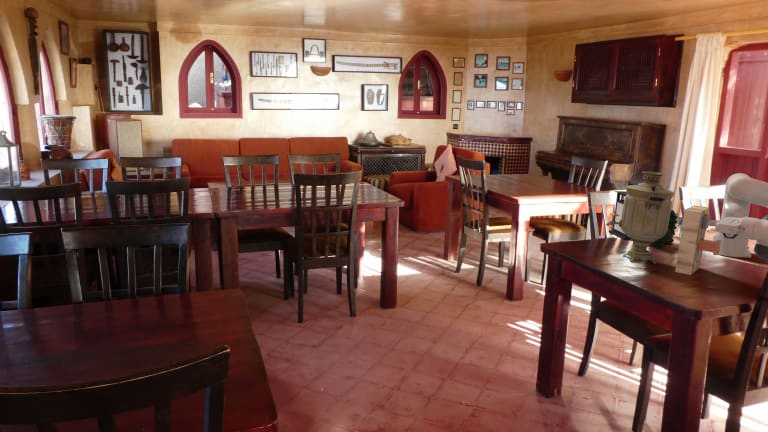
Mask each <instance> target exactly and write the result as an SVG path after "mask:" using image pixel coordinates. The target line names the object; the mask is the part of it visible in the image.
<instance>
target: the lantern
mask: <svg viewBox="0 0 768 432" xmlns="http://www.w3.org/2000/svg"><path fill="white" fill-rule="evenodd" d="M640 174H643V173H642V172H640V173H635V174H634V175H633V176H632V177H631V178H630V179H629V181H628V182H626V183H627V186H630V185H638V184H639V183H640V182H631V181H632V179H633V178H634V177H635V176H638V175H640ZM614 192H615V193H616V199H615V208H614V213H616V214H618V215H619V216H615V222H619V221H620V220H621V218H622V212H623V205H624V199H625V196H626V195H627V191H626V190H625V191H623V190H619V191H618V190H614ZM608 233H609V234H611V235H613V236H615V237H618V238H619V239H621V240H623V241H633V239H631V238H629V237H628V236H627V235H626V234H625V233H624V232H623V231H622V229H621V227H619V224H614V225H613V226H612V230H610V229H609V230H608Z"/></svg>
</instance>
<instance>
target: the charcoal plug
mask: <svg viewBox="0 0 768 432" xmlns="http://www.w3.org/2000/svg"><path fill="white" fill-rule="evenodd" d="M682 217H684V213H683V215H682ZM710 218H711V214H710V213H709V214H707V215H705V216H703V219H702V225H701V227H702V229H706V230H707V229H708V228H709V226H710V225H707V221H708V220H711V219H710ZM682 224H683V220H682Z"/></svg>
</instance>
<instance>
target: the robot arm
mask: <svg viewBox="0 0 768 432" xmlns="http://www.w3.org/2000/svg"><path fill="white" fill-rule="evenodd" d="M751 204H753V205H757V206H761V207H763V208H766V209H768V182H766V181H763V180H759V179H755V178H753V177H750V176H749V175H748V174H746V173H741V172H739V173H734V174H732V175H730V176H729V177H728V178H727V180H726V183H725V190H724V196H723V203H722V210H721V216H720V220H719V219H718V220H717V219H714V220H713V219H710V220H708V221H707V225H709V226H713V227H715V228H714V231H715V232H716V233H714V234H713V236H712V241H717V240H721V245H720V251H719V253H718V254H717V255H721V256H725V257H732V258H748V259H749V258H752V254H751V250H750V246H749V242H750V241H755V245H754V249H753V252H754V253H755V255H756V256H757V257H758V258H759V259H761V260H764V261H768V214H766V215H765V216H763V217H761V219H760V218H757V217H749V216H750V210H751Z"/></svg>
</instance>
